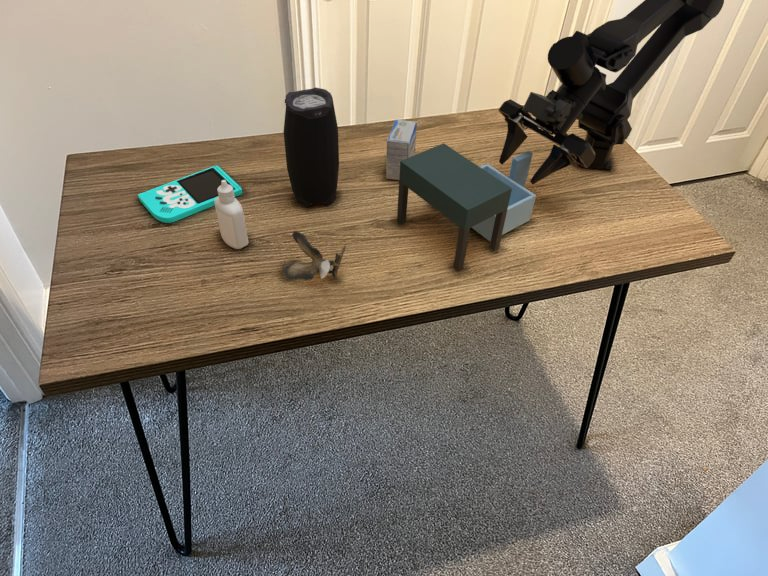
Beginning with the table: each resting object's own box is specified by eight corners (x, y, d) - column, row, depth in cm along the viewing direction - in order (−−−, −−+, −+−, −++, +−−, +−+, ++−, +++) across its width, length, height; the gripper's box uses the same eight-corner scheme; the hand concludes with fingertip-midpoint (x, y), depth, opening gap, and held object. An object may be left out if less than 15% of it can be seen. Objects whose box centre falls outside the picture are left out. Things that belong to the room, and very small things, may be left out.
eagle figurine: (346, 251, 98) (294, 235, 98) (346, 240, 91) (290, 222, 91) (332, 295, 96) (279, 278, 96) (331, 287, 89) (273, 269, 89)
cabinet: (437, 202, 110) (443, 142, 101) (499, 248, 101) (512, 188, 93) (396, 221, 106) (400, 160, 97) (457, 271, 97) (467, 210, 88)
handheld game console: (138, 198, 108) (136, 192, 107) (217, 169, 116) (216, 163, 115) (162, 227, 103) (160, 220, 102) (244, 193, 110) (243, 187, 109)
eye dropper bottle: (222, 252, 99) (210, 193, 90) (220, 231, 102) (208, 172, 94) (249, 249, 99) (239, 189, 91) (246, 228, 103) (236, 169, 95)
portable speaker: (281, 199, 109) (269, 99, 96) (315, 176, 115) (309, 79, 101) (315, 217, 106) (308, 117, 92) (349, 193, 111) (347, 95, 97)
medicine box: (408, 182, 114) (410, 142, 108) (385, 179, 115) (386, 139, 109) (414, 160, 120) (417, 121, 114) (393, 157, 120) (394, 118, 114)
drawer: (498, 180, 115) (506, 137, 108) (545, 211, 108) (557, 167, 102) (443, 206, 109) (448, 162, 102) (490, 241, 102) (499, 196, 95)
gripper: (515, 54, 101) (460, 131, 104) (604, 97, 91) (540, 182, 94) (536, 85, 111) (485, 156, 113) (620, 128, 100) (561, 204, 103)
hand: (515, 173), depth 106 cm, fingers open, 7 cm apart
